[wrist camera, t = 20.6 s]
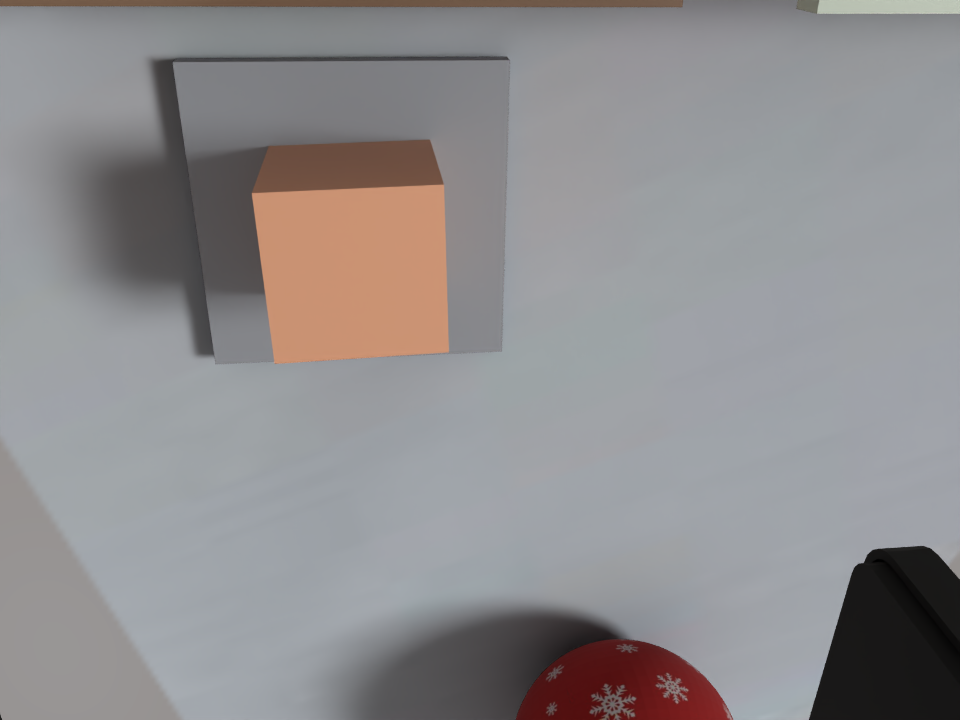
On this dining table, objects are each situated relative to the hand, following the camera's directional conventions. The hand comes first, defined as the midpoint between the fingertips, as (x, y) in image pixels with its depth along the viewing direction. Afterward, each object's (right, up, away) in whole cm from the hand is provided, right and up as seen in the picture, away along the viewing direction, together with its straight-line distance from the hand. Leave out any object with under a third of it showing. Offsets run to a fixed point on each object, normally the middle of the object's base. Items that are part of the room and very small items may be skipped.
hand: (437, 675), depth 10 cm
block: (-3, +8, +16) cm, 18 cm away
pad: (-3, +8, +17) cm, 19 cm away
